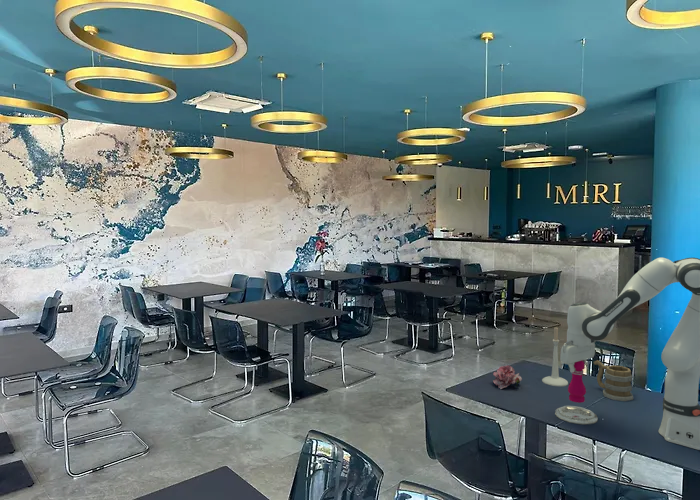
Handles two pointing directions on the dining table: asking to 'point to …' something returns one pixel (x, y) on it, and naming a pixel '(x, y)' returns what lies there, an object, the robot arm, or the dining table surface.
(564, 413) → the silver metal plate
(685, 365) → the robot arm
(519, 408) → the dining table surface
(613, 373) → the tankard
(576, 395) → the pepper mill
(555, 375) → the candlestick
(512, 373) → the flower
